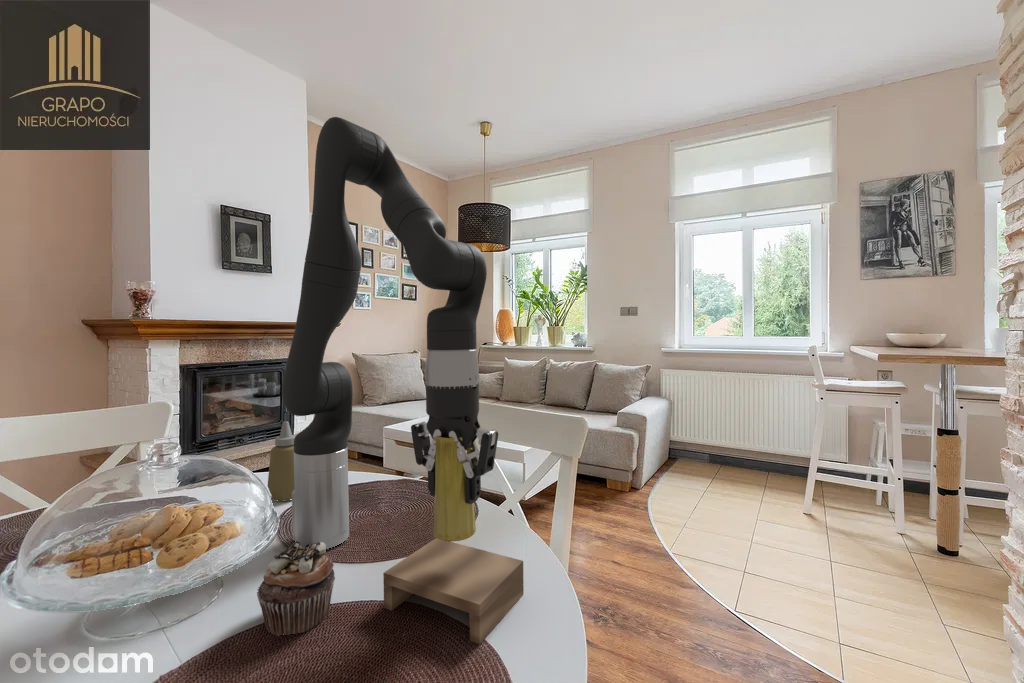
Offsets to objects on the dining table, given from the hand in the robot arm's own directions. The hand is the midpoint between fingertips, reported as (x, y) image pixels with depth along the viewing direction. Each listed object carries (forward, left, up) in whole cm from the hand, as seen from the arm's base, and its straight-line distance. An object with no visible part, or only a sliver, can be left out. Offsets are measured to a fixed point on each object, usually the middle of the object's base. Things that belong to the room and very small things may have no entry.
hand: (454, 497), depth 65 cm
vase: (0, 0, -5) cm, 5 cm away
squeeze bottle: (-59, +15, -15) cm, 63 cm away
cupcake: (-17, -13, -15) cm, 26 cm away
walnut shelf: (0, 0, -15) cm, 15 cm away
